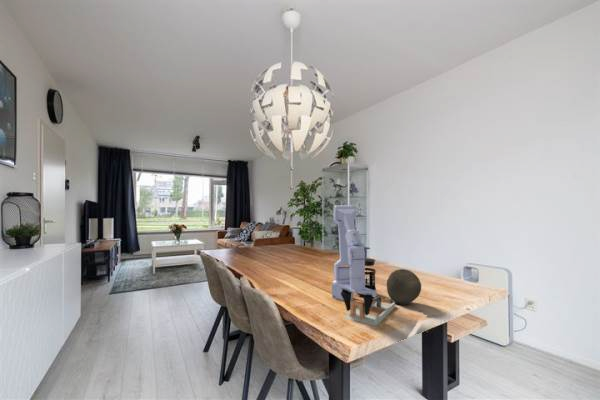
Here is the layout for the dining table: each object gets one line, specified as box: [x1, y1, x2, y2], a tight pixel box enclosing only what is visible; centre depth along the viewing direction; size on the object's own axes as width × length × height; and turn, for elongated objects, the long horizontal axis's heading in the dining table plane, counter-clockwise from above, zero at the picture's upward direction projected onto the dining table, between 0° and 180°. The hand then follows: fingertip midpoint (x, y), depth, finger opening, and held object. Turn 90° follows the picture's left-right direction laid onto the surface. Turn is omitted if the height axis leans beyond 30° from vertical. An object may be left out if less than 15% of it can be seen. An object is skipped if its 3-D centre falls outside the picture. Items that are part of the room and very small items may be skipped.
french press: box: [356, 246, 377, 298], centre depth 133 cm, size 12×9×23 cm
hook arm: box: [371, 295, 382, 309], centre depth 109 cm, size 2×11×6 cm, turn 144°
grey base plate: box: [343, 301, 396, 327], centre depth 108 cm, size 13×22×3 cm, turn 144°
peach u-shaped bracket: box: [349, 299, 365, 318], centre depth 104 cm, size 5×2×5 cm, turn 54°
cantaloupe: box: [386, 268, 422, 305], centre depth 120 cm, size 14×14×15 cm
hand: (357, 312), depth 104 cm, fingers open, 7 cm apart
